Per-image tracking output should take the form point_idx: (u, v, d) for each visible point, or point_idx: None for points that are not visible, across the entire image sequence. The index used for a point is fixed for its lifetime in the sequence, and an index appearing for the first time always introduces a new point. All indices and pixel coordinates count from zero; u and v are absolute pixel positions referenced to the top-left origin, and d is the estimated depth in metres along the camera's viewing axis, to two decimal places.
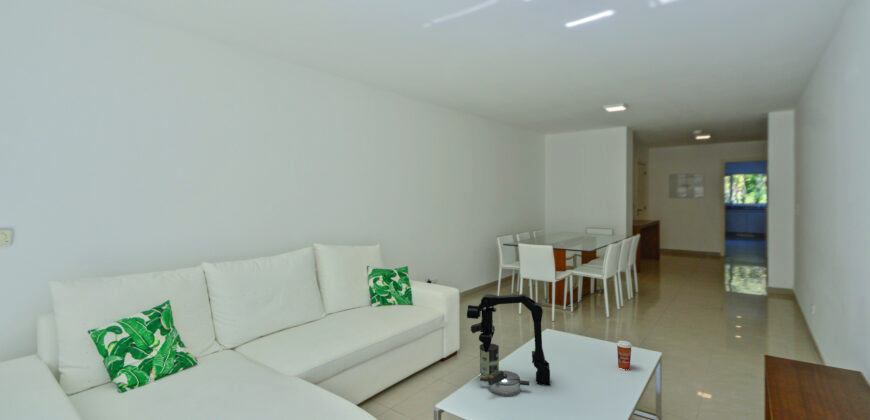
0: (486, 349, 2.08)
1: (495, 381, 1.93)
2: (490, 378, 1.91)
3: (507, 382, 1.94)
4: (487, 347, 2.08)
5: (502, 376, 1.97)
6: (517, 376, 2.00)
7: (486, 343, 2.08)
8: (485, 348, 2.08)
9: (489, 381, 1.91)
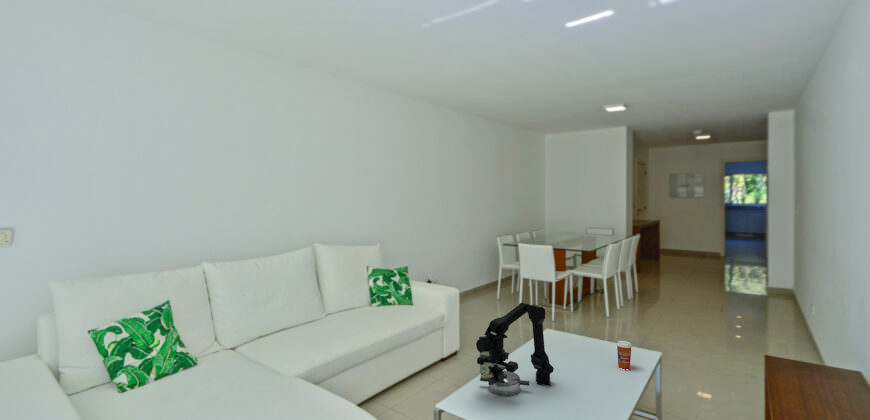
0: None
1: (495, 381, 1.93)
2: (490, 378, 1.91)
3: (507, 382, 1.94)
4: None
5: (502, 376, 1.97)
6: (517, 376, 2.00)
7: None
8: None
9: (489, 381, 1.91)
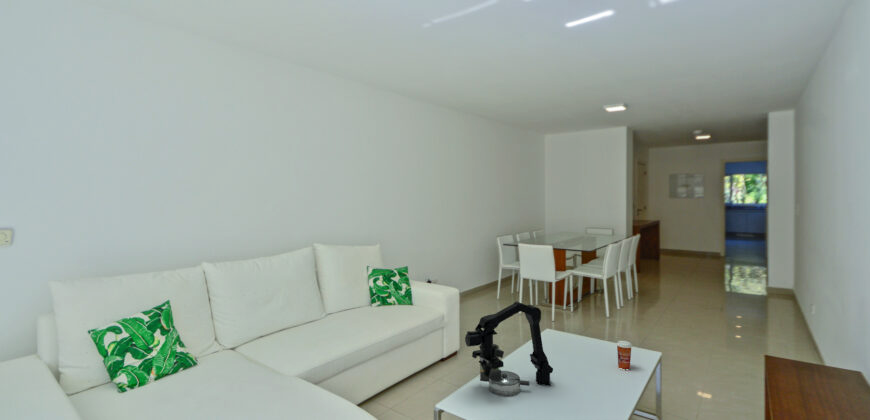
0: None
1: (487, 377, 1.98)
2: (480, 372, 1.97)
3: (499, 381, 1.95)
4: None
5: (499, 375, 1.98)
6: (516, 379, 1.96)
7: None
8: None
9: (480, 375, 1.98)
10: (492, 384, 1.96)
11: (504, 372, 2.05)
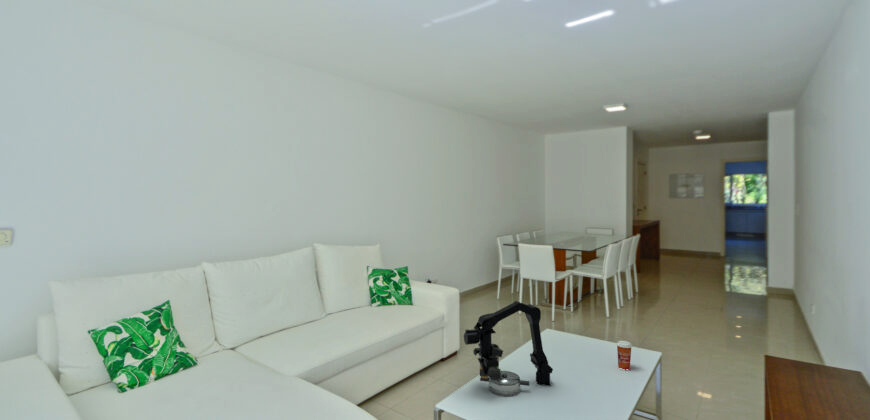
0: None
1: None
2: None
3: (495, 380, 1.96)
4: None
5: (498, 374, 1.99)
6: (514, 381, 1.95)
7: None
8: None
9: None
10: (492, 384, 1.96)
11: (507, 372, 2.04)
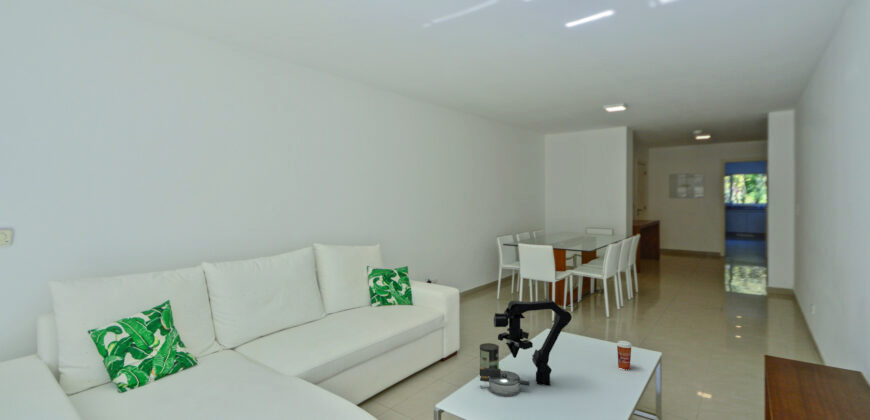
0: None
1: (486, 374, 2.00)
2: None
3: (495, 380, 1.96)
4: None
5: (498, 374, 1.99)
6: (514, 381, 1.95)
7: None
8: None
9: None
10: (492, 384, 1.96)
11: (507, 372, 2.04)
